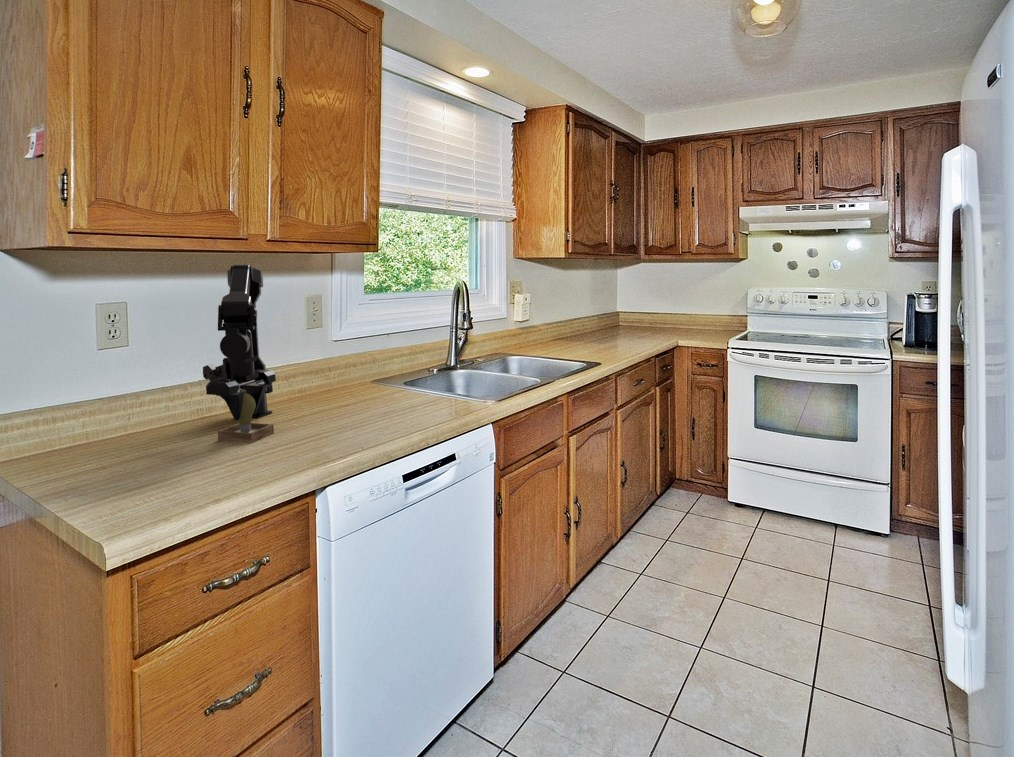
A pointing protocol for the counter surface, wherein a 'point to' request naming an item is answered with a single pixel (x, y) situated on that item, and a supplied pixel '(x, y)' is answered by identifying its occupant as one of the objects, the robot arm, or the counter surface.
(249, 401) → the light bulb
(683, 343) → the counter surface
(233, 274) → the robot arm
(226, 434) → the tray
